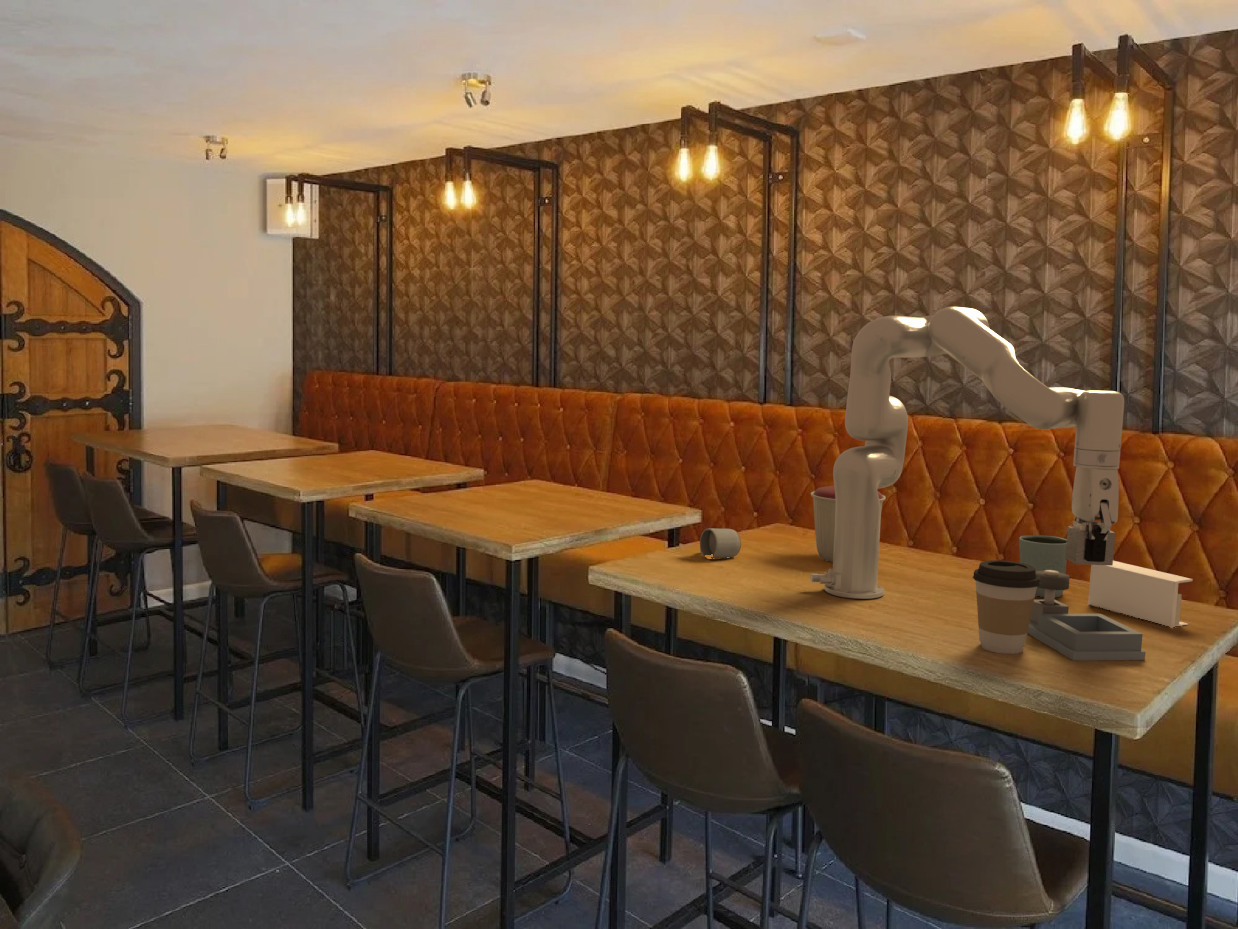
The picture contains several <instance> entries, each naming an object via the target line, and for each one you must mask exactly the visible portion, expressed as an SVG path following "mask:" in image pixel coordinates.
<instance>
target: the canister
mask: <svg viewBox="0 0 1238 929" xmlns="http://www.w3.org/2000/svg"><path fill="white" fill-rule="evenodd" d="M810 496H811V497H812V499H813V500H812V501H813V517H814V518H813V520H814V532H815V543H816V550H817V551H816V552H817V553H818V556H819V557H820V558H821V559H822V560H824V561H826V562H829V563H833V555H834V535H835V509H836V497H835V486H834V485H828V486H822V487H818V488H816V489H815V490H814V491H812V492H810ZM878 496H879V500H880V506H881V511H882V509H883V502H884V501H886V495H884V494H882V493H881V492H880V491H878Z"/></svg>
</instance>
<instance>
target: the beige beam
mask: <svg viewBox="0 0 1238 929" xmlns="http://www.w3.org/2000/svg"><path fill="white" fill-rule="evenodd" d="M1090 566H1091V567H1090V574H1089V575H1090V576H1089V578H1090V579H1089V589H1088V598H1087V599H1088V601H1087V602H1088V603H1087V605H1088V606H1093V607H1096V608H1099V607H1100V609H1102V608H1103V609H1102V610H1105V611H1106V610H1107V611H1109V610H1110V612H1113V613H1116V614H1117V613H1118V614H1120V613H1123V614H1122V615H1124V614H1126V615H1125V616H1127V615H1130V616H1129V617H1131V616H1133V617H1132V618H1134V617H1135V619H1138V618H1140V619H1139V620H1141V619H1145V620H1148V621H1152V622H1155V623H1159V624H1162V625H1161V626H1163V625H1165V626H1164V627H1166V626H1169V627H1175V626H1181V627H1183V626H1182V625H1187V626H1189V623H1187V622H1185V621H1184V622H1183V621H1180V620H1181V612H1182V611H1181V610H1182V609H1181V608H1182V598H1183V597H1182V596H1183V595H1182V593H1178V592H1179V584H1182V583H1189V582H1193V578H1188V577H1184V576H1182V575H1181V576H1180V575H1176V574H1173V573H1169V572H1168V573H1167V572H1164V571H1160V570H1159V571H1158V570H1155V569H1151V568H1148V567H1147V568H1146V567H1143V566H1138V565H1133V564H1129V563H1125V562H1121V561H1116V560H1113V566H1112V565H1090ZM1145 620H1144V621H1145ZM1148 621H1147V622H1148ZM1152 622H1151V623H1152ZM1155 623H1154V624H1155ZM1159 624H1158V625H1159ZM1169 627H1168V628H1169ZM1175 628H1176V627H1175Z"/></svg>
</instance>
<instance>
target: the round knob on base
mask: <svg viewBox="0 0 1238 929" xmlns="http://www.w3.org/2000/svg"><path fill="white" fill-rule="evenodd" d="M1036 575H1038V576H1039V577H1040V583H1041V584H1040V585H1039V586H1037V587H1039V588H1043V589H1045V595H1044V597H1043V598H1044V599H1043V600H1044V605H1054V601H1055V600H1056V599H1055V598H1056V597H1055V590H1063V591H1066V590H1069V589H1070V574H1067V573H1065V574H1064V573H1060V572H1058V571H1054V570H1045V571H1036Z"/></svg>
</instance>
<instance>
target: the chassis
mask: <svg viewBox="0 0 1238 929" xmlns="http://www.w3.org/2000/svg"><path fill="white" fill-rule="evenodd" d="M1027 635H1030V636H1031V637H1033V638H1034V639H1036V640H1038V641H1040V642H1042V643H1043V644H1045V645H1047V646H1048V647H1049V648H1052V649H1053V650H1055V651H1057V652H1058V653H1060V654H1062V655H1063V656H1065V657H1067V658H1069V659H1070V660H1072V661H1146V651H1145V650H1143V649H1142V644H1143V635H1144V634H1143V633H1142V632H1140V631H1138V630H1136V629H1133V628H1131V627H1129V626H1127V625H1125V624H1123V623H1121V622H1119V621H1116V620H1115V619H1113V618H1111V617H1109V616H1106V615H1105V614H1102V613H1069V606H1068V605H1067V604H1065V603H1063V602H1060V601H1059V600H1056V599H1055V601H1054V605H1044V599H1034V603H1033V608H1032V612H1031V617H1030V622H1029V627H1028V631H1027Z"/></svg>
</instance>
